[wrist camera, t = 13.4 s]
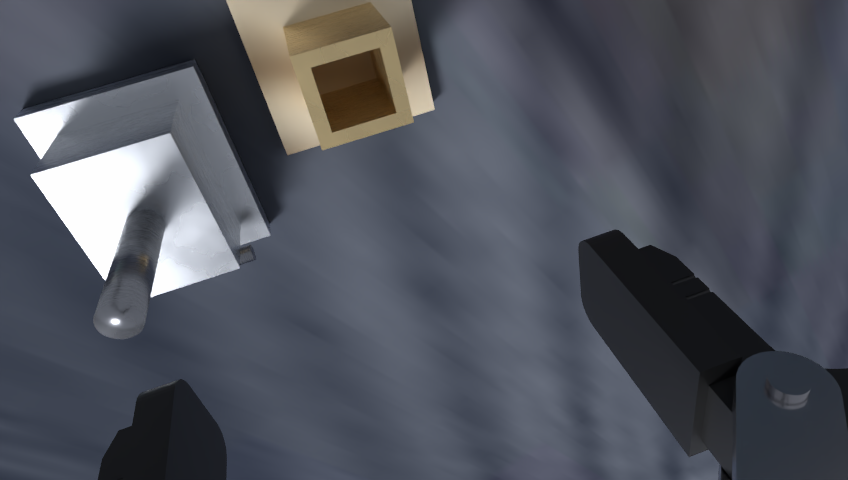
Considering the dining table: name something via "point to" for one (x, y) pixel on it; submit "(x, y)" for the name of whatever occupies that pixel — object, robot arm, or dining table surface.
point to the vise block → (146, 187)
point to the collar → (358, 104)
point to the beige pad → (267, 50)
